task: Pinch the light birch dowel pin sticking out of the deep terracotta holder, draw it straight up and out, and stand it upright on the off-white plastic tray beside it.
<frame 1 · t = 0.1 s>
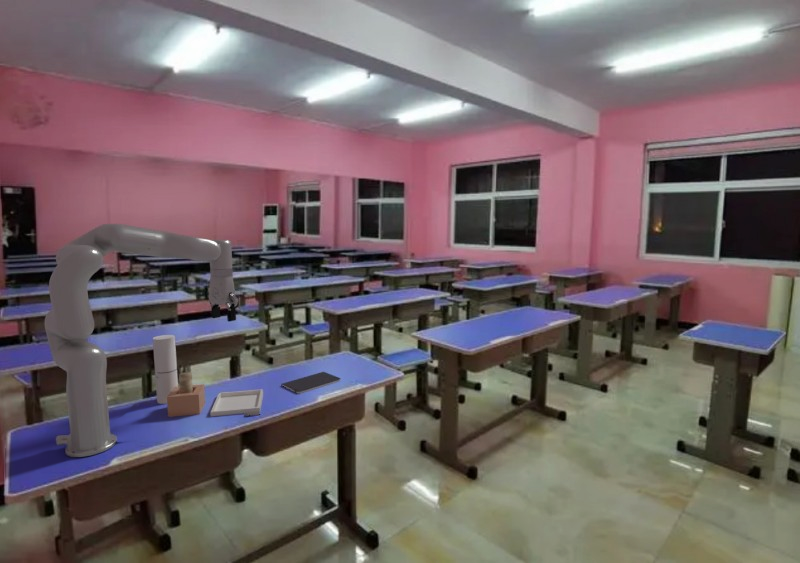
hand: (223, 319, 162), 31 cm above the table, tool pointing down, fingers open, 9 cm apart
cylindrical container: (168, 403, 163), on the table
tray: (238, 406, 160), on the table
notebook: (311, 385, 184), on the table
deep holder: (187, 412, 155), on the table
dowel pin: (187, 409, 155), point 1 cm above the table, touching deep holder
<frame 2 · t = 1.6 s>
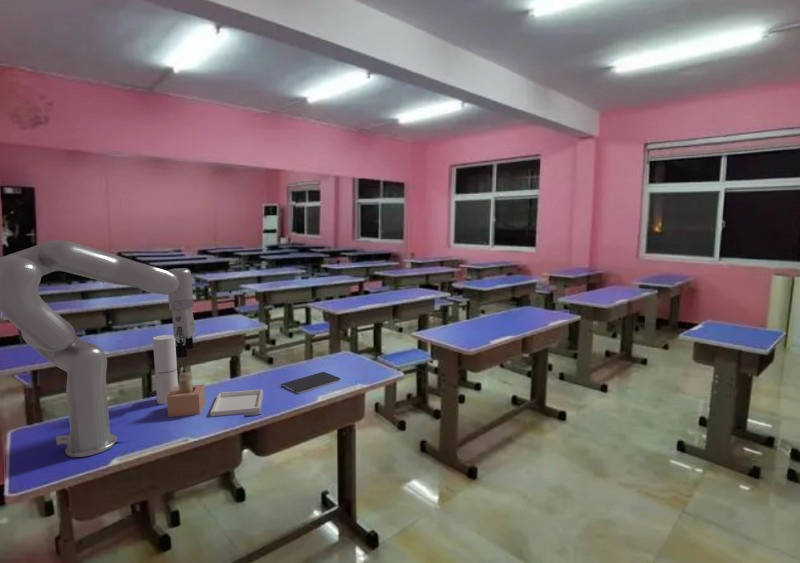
hand: (185, 352, 153), 22 cm above the table, tool pointing down, fingers open, 9 cm apart
nothing on the table moved.
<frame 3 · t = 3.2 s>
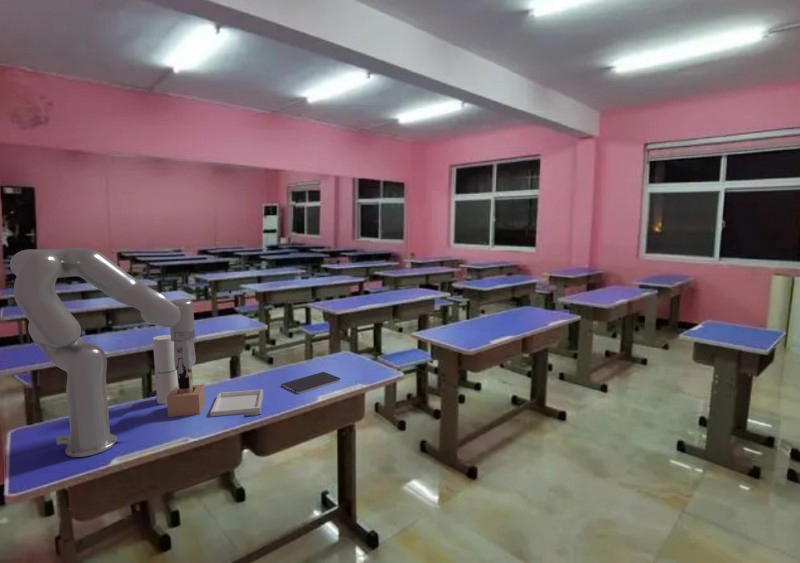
hand: (186, 385, 154), 10 cm above the table, tool pointing down, fingers closed on dowel pin, 4 cm apart
dowel pin: (187, 409, 155), point 1 cm above the table, touching deep holder, gripper
everything else where it was.
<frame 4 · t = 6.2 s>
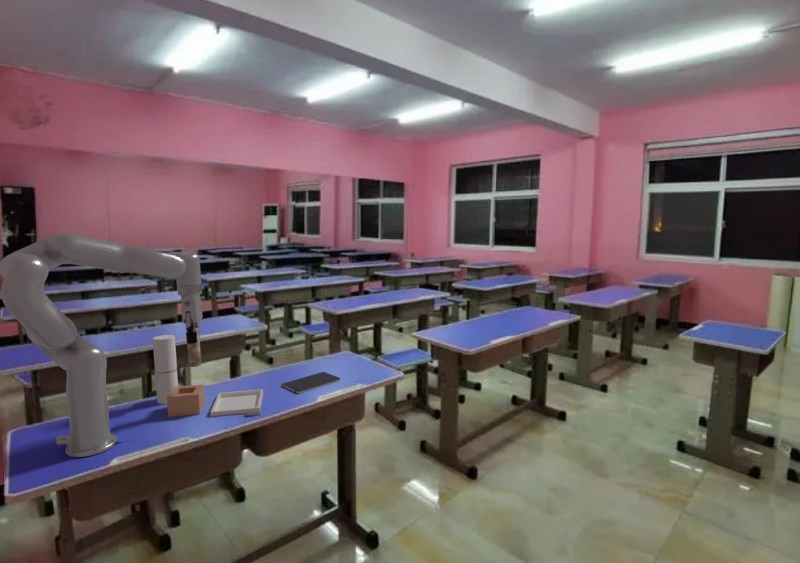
hand: (193, 340, 153), 26 cm above the table, tool pointing down, fingers closed on dowel pin, 4 cm apart
dowel pin: (195, 365, 154), point 17 cm above the table, touching gripper
everything else where it was.
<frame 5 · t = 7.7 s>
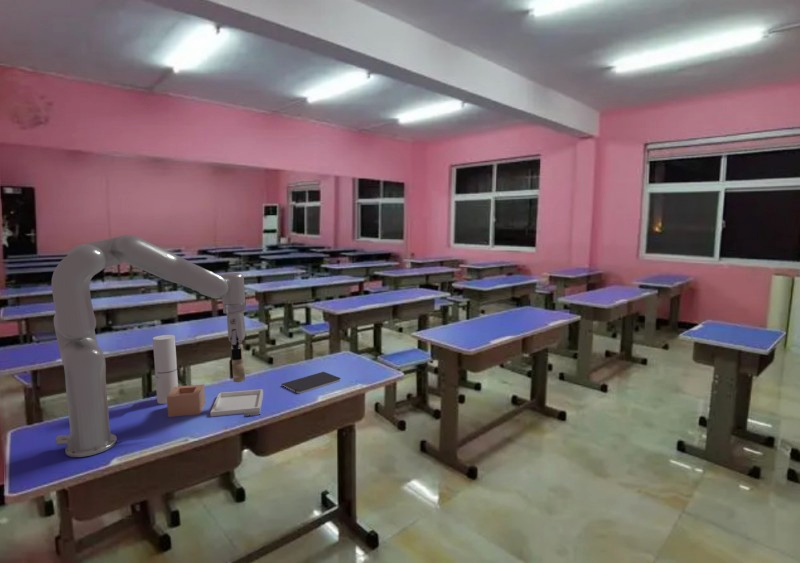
hand: (237, 357, 158), 19 cm above the table, tool pointing down, fingers closed on dowel pin, 4 cm apart
dowel pin: (239, 380, 159), point 10 cm above the table, touching gripper
everything else where it was.
when the fingers open (11 cm above the table, at t = 9.0 s): dowel pin stays where it is, resting on tray.
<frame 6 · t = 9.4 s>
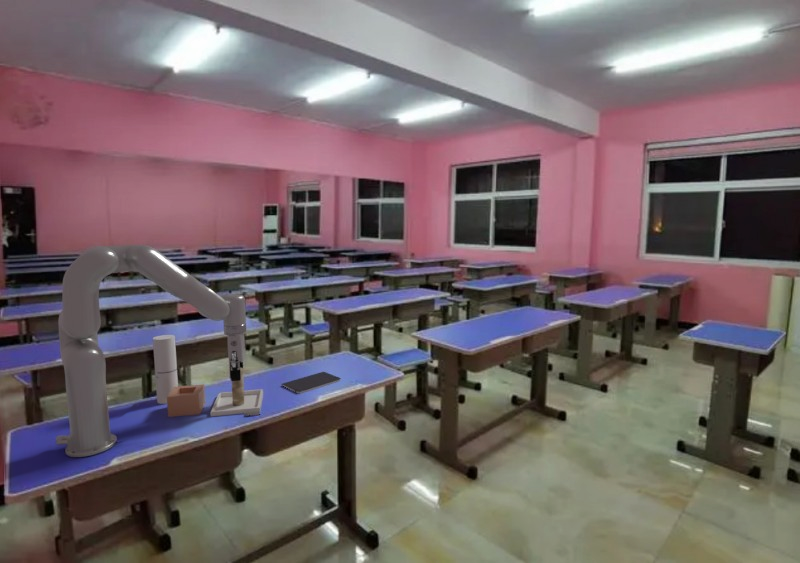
hand: (237, 376, 158), 11 cm above the table, tool pointing down, fingers open, 7 cm apart
dowel pin: (238, 403, 160), point 1 cm above the table, touching tray
everything else where it was.
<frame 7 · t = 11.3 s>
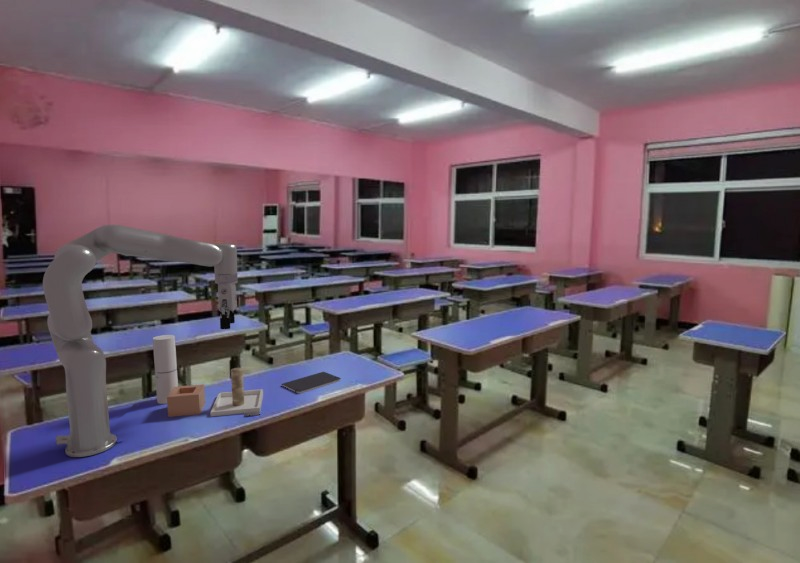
hand: (227, 326, 157), 30 cm above the table, tool pointing down, fingers open, 9 cm apart
nothing on the table moved.
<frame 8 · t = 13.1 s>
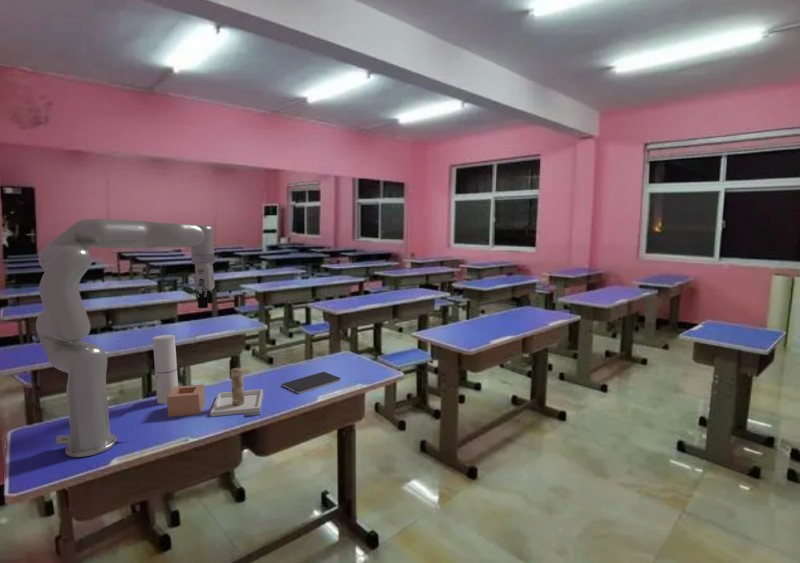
hand: (205, 305, 161), 36 cm above the table, tool pointing down, fingers open, 9 cm apart
nothing on the table moved.
at the end: dowel pin inside the target area on the tray (0.0 cm from its centre), point 1.0 cm above the tray's base; dowel pin tilted 0°; the gripper is holding nothing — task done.
